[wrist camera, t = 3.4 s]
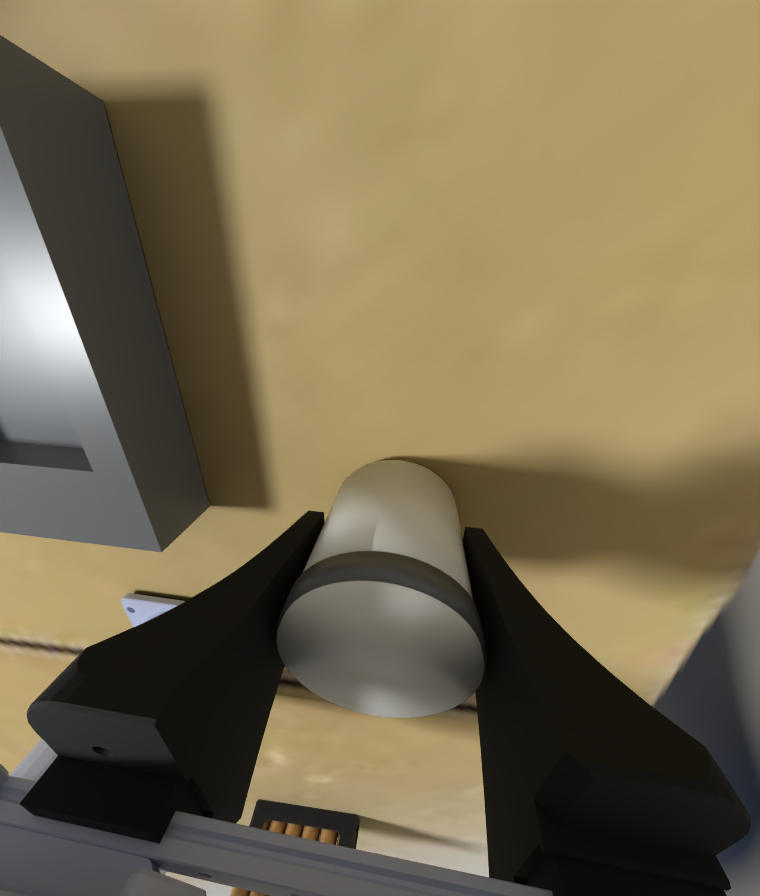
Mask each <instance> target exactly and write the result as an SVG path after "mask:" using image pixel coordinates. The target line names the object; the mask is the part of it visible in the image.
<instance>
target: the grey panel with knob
mask: <svg viewBox="0 0 760 896" xmlns="http://www.w3.org/2000/svg"><path fill="white" fill-rule="evenodd" d="M209 507H210V505H209V502H208V498H207V494H206V490H205V487H204V483H203V479H202V475H201V471H200V468H199V464H198V460H197V456H196V452H195V449H194V445H193V441H192V437H191V433H190V430H189V426H188V422H187V418H186V414H185V411H184V407H183V403H182V399H181V395H180V392H179V388H178V384H177V380H176V376H175V373H174V369H173V365H172V361H171V357H170V354H169V350H168V346H167V342H166V338H165V335H164V331H163V327H162V323H161V320H160V316H159V312H158V308H157V304H156V301H155V297H154V293H153V289H152V285H151V282H150V278H149V274H148V270H147V266H146V263H145V259H144V255H143V251H142V247H141V244H140V240H139V236H138V232H137V228H136V225H135V221H134V217H133V213H132V209H131V206H130V202H129V198H128V194H127V190H126V187H125V183H124V179H123V175H122V171H121V168H120V164H119V160H118V156H117V153H116V149H115V145H114V141H113V137H112V134H111V130H110V126H109V122H108V118H107V115H106V111H105V107H104V103H103V101H102V100H101V99H99V98H98V97H96V96H95V95H93V94H91V93H90V92H88V91H87V90H85V89H84V88H82V87H80V86H79V85H77V84H76V83H74V82H73V81H71V80H70V79H68V78H66V77H65V76H63V75H62V74H60V73H59V72H57V71H55V70H54V69H52V68H51V67H49V66H48V65H46V64H45V63H43V62H41V61H40V60H38V59H37V58H35V57H34V56H32V55H31V54H29V53H27V52H26V51H24V50H23V49H21V48H20V47H18V46H16V45H15V44H13V43H12V42H10V41H9V40H7V39H6V38H4V37H2V36H1V35H0V532H4V533H12V534H20V535H28V536H36V537H44V538H52V539H60V540H68V541H76V542H84V543H92V544H100V545H108V546H116V547H124V548H132V549H140V550H148V551H156V552H162V551H163V550H165V549H166V548H167V547H168V546H169V545H170V544H171V543H172V542H173V541H174V540H175V539H176V538H177V537H178V536H179V535H180V534H181V533H182V532H183V531H184V530H186V529H187V528H188V527H189V526H190V525H191V524H192V523H193V522H194V521H195V520H196V519H197V518H198V517H199V516H200V515H201V514H202V513H203V512H204V511H205V510H207V509H208V508H209Z"/></svg>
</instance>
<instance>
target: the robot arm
mask: <svg viewBox="0 0 760 896" xmlns="http://www.w3.org/2000/svg"><path fill="white" fill-rule="evenodd" d="M323 525H324V512H315V511H308V512H307V513H305V514H304V515H303V516H302V517H301V518H300V519H299V520H297V521H296V522H295V523H294V524H293V525H292V526H291V527H290V528H289V529H287V530H286V531H285V532H284V533H283V534H282V535H281V536H279V537H278V538H277V539H276V540H275V541H273V542H272V543H271V544H270V545H269V546H268V547H266V548H265V549H264V550H263V551H261V552H260V553H259V554H257V555H256V556H255V557H254V558H252V559H251V560H250V561H248V562H247V563H246V564H244V565H243V566H242V567H240V568H239V569H237V570H236V571H235V572H233V573H232V574H230V575H228V576H227V577H225V578H224V579H222V580H221V581H219V582H218V583H216V584H215V585H213V586H211V587H210V588H208V589H206V590H204V591H203V592H201V593H199V594H197V595H196V596H194V597H192V598H191V599H189V600H187V601H182V600H174V599H167V598H160V597H153V596H146V595H139V594H132V593H129V594H126V595H125V596H124V597H123V598H122V599H121V604H122V606H123V608H124V610H125V612H126V614H127V616H128V617H129V619H130V621H131V623H132V625H133V628H131V629H129V630H127V631H124V632H122V633H120V634H117V635H115V636H113V637H111V638H108V639H106V640H104V641H101V642H99V643H97V644H94V645H92V646H89V647H87V648H86V649H85V650H84V651H83V652H82V653H81V654H80V655H79V656H78V657H77V658H76V659H75V660H74V661H73V662H72V663H71V664H70V665H69V666H68V667H67V668H66V669H65V670H64V671H63V672H62V673H61V674H60V675H59V676H58V677H57V678H56V679H55V680H54V681H53V682H52V683H51V684H50V685H49V686H48V688H47V689H46V690H45V691H44V692H43V693H42V694H41V695H40V696H39V697H38V698H37V699H36V700H35V701H34V702H33V703H32V704H31V705H30V707H29V709H28V711H27V719H28V723H29V724H30V725H31V727H32V728H33V729H34V731H35V732H36V733H37V734H38V735H39V736H40V737H41V738H42V739H41V740H40V741H39V742H38V743H37V744H36V746H35V747H34V748H33V749H32V750H31V751H30V752H29V754H28V755H27V756H26V757H25V758H24V759H23V760H22V762H21V763H20V764H19V765H18V766H17V767H16V768H15V770H14V771H13V772H12V773H11V774H10V775H8V771H7V770H6V769H5V768H4V767H3V766H2V765H1V764H0V896H206V891H205V890H203V889H201V888H198V887H195V886H193V885H190V884H187V883H185V882H182V881H179V880H177V879H174V878H171V877H169V876H166V875H164V874H165V873H166V872H167V871H168V872H172V873H177V874H181V875H185V876H189V877H194V878H198V879H202V880H207V881H211V882H215V883H219V884H224V885H228V886H232V887H236V888H241V889H245V890H249V891H253V892H258V893H262V894H266V895H270V896H726V894H725V892H724V890H726V891H727V890H729V889H731V887H730V882H729V880H728V878H727V876H726V874H725V872H724V870H723V868H722V867H721V865H720V863H719V861H718V859H717V857H716V855H717V854H718V853H720V852H722V851H723V850H725V849H726V848H728V847H730V846H731V845H733V844H735V843H736V842H738V841H739V840H741V839H742V838H743V837H744V836H745V835H746V834H748V833H749V828H750V824H751V817H750V816H749V814H748V812H747V810H746V809H745V807H744V805H743V804H742V802H741V801H740V799H739V797H738V796H737V794H736V793H735V791H734V790H733V788H732V786H731V785H730V784H729V782H728V780H727V778H726V777H725V775H724V774H723V773H722V771H721V769H720V768H719V766H718V765H717V764H716V762H715V761H714V759H713V758H712V756H711V755H710V753H709V752H708V751H707V749H706V748H705V746H703V745H702V744H701V743H699V742H698V741H697V740H695V739H694V738H693V737H692V736H690V735H689V734H688V733H686V732H685V731H684V730H682V729H681V728H680V727H678V726H677V725H676V724H674V723H673V722H672V721H670V720H669V719H668V718H666V717H665V716H663V715H662V714H661V713H660V712H658V711H657V710H656V709H654V708H653V707H652V706H651V705H649V704H648V703H647V702H645V701H644V700H643V699H642V698H641V697H639V696H638V695H637V694H636V693H634V692H633V691H632V690H631V689H630V688H628V687H627V686H626V685H625V684H624V683H622V682H621V681H620V680H619V679H617V678H616V677H615V676H614V675H613V674H612V673H610V672H609V671H608V670H607V669H606V668H605V667H604V666H602V665H601V664H600V663H599V662H598V661H597V660H596V659H595V658H593V657H592V656H591V655H590V654H589V653H588V652H587V651H586V650H585V649H584V648H583V647H581V646H580V645H579V644H578V643H577V642H576V641H575V640H574V639H573V638H572V637H571V636H570V635H569V634H568V633H567V632H566V631H565V630H564V629H563V628H562V627H561V626H560V625H559V624H558V623H557V622H556V621H555V620H554V619H553V618H552V617H551V616H550V615H549V614H548V613H547V612H546V611H545V609H544V608H543V607H542V606H541V605H540V604H539V603H538V602H537V600H536V599H535V598H534V597H533V596H532V594H531V593H530V592H529V591H528V590H527V589H526V587H525V586H524V585H523V584H522V582H521V581H520V580H519V579H518V577H517V576H516V575H515V573H514V572H513V571H512V569H511V568H510V567H509V566H508V564H507V563H506V562H505V560H504V559H503V557H502V556H501V555H500V553H499V552H498V550H497V549H496V548H495V546H494V545H493V543H492V542H491V540H490V539H489V537H488V536H487V534H486V533H485V531H484V530H483V529H479V528H470V527H465V531H464V536H463V546H464V551H465V557H466V562H467V568H468V574H469V579H470V585H471V591H472V596H473V601H474V602H475V605H476V607H477V609H478V611H479V615H480V619H481V624H482V630H483V635H484V640H485V645H486V651H487V664H486V669H485V672H484V674H483V678H482V681H481V683H480V685H479V687H478V688H477V690H476V691H475V692H476V702H477V712H478V724H479V735H480V746H481V759H482V772H483V785H484V798H485V814H486V830H487V845H488V863H489V878H488V877H484V876H479V875H474V874H470V873H465V872H460V871H455V870H451V869H446V868H441V867H437V866H432V865H427V864H423V863H418V862H413V861H409V860H404V859H399V858H394V857H390V856H385V855H380V854H376V853H371V852H366V851H362V850H357V849H352V848H348V847H343V846H338V845H333V844H329V843H324V842H319V841H315V840H310V839H305V838H301V837H296V836H291V835H287V834H282V833H277V832H272V831H268V830H263V829H258V828H254V827H249V826H244V825H240V824H236V823H237V822H238V821H239V819H240V818H241V816H242V813H243V809H244V805H245V801H246V797H247V793H248V790H249V786H250V782H251V779H252V775H253V771H254V767H255V764H256V760H257V756H258V753H259V749H260V746H261V742H262V739H263V735H264V732H265V728H266V725H267V721H268V718H269V714H270V711H271V708H272V704H273V701H274V698H275V695H276V691H277V688H278V685H279V681H280V678H281V675H282V672H283V669H284V666H285V665H284V663H283V661H282V659H281V657H280V655H279V651H278V648H277V635H276V627H277V621H278V618H279V615H280V613H281V610H282V608H283V606H284V604H285V602H286V600H287V597H288V595H289V593H290V591H291V589H292V587H293V585H294V583H295V582H296V580H297V579H298V577H299V576H300V575H301V574H302V573H303V571H304V568H305V566H306V564H307V562H308V559H309V557H310V555H311V552H312V550H313V548H314V546H315V543H316V541H317V539H318V537H319V534H320V532H321V530H322V528H323Z"/></svg>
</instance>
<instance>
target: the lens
mask: <svg viewBox="0 0 760 896" xmlns="http://www.w3.org/2000/svg"><path fill="white" fill-rule="evenodd" d="M276 635H277V648H278V651H279V655H280V657H281V659H282V661H283V663H284V665H285V666H286V668H287V669H288V671H289V672H290V673H291V674H292V675H293V676H294V677H295V678H296V679H297V680H298V681H299V682H300V683H301V684H302V685H304V686H305V687H306V688H308V689H309V690H310V691H312V692H313V693H315V694H317V695H318V696H320V697H322V698H324V699H325V700H327V701H329V702H332V703H334V704H336V705H339V706H341V707H344V708H347V709H350V710H353V711H357V712H360V713H364V714H369V715H374V716H382V717H393V718H412V717H422V716H428V715H433V714H437V713H441V712H444V711H447V710H449V709H452V708H454V707H456V706H458V705H460V704H461V703H463V702H464V701H466V700H467V699H468V698H469V697H470V696H471V695H472V694H473V693H474V692H475V691H476V690H477V688H478V687H479V685H480V683H481V681H482V678H483V674H484V672H485V669H486V664H487V651H486V645H485V640H484V635H483V630H482V624H481V619H480V615H479V611H478V609H477V607H476V605H475V602H474V601H473V596H472V591H471V585H470V579H469V574H468V568H467V562H466V557H465V551H464V546H463V540H462V534H461V529H460V523H459V518H458V512H457V506H456V502H455V499H454V496H453V494H452V492H451V490H450V489H449V487H448V486H447V485H446V483H445V482H444V481H443V480H442V479H441V478H440V477H439V476H438V475H436V474H435V473H433V472H432V471H431V470H429V469H427V468H425V467H423V466H420V465H418V464H415V463H412V462H408V461H401V460H383V461H377V462H373V463H370V464H367V465H365V466H363V467H361V468H359V469H357V470H356V471H354V472H353V473H352V474H351V475H350V476H349V477H347V479H346V480H345V481H344V482H343V484H342V486H341V487H340V489H339V492H338V494H337V496H336V498H335V501H334V503H333V505H332V507H331V510H330V512H329V514H328V516H327V519H326V521H325V523H324V525H323V528H322V530H321V532H320V534H319V537H318V539H317V541H316V543H315V546H314V548H313V550H312V552H311V555H310V557H309V559H308V562H307V564H306V566H305V568H304V571H303V573H302V574H301V575H300V576H299V577H298V579H297V580H296V582H295V583H294V585H293V587H292V589H291V591H290V593H289V595H288V597H287V600H286V602H285V604H284V606H283V608H282V610H281V613H280V615H279V618H278V621H277V627H276Z"/></svg>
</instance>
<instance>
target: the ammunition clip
mask: <svg viewBox="0 0 760 896" xmlns="http://www.w3.org/2000/svg"><path fill="white" fill-rule="evenodd" d="M359 824H360V822H359V819H358V816H357V815H356V814H350V813H343V812H337V811H331V810H324V809H318V808H312V807H305V806H299V805H292V804H286V803H280V802H273V801H267V800H261V799H259V800H258V801H257V803H256V806H255V809H254V813H253V816H252V819H251V823H250V826H249V827H254V828H258V829H263V830H268V831H272V832H277V833H282V834H287V835H291V836H296V837H301V838H305V839H310V840H315V841H318V840H319V842H324V843H329V844H333V845H336V842H337V845H338V846H343V847H348V848H352V849H356V844H357V837H358V831H359ZM319 835H320V838H319ZM337 837H338V840H337ZM230 896H270V895H266V894H262V893H258V892H253V891H249V890H245V889H241V888H236V887H233V888H232V891H231V894H230Z"/></svg>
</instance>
